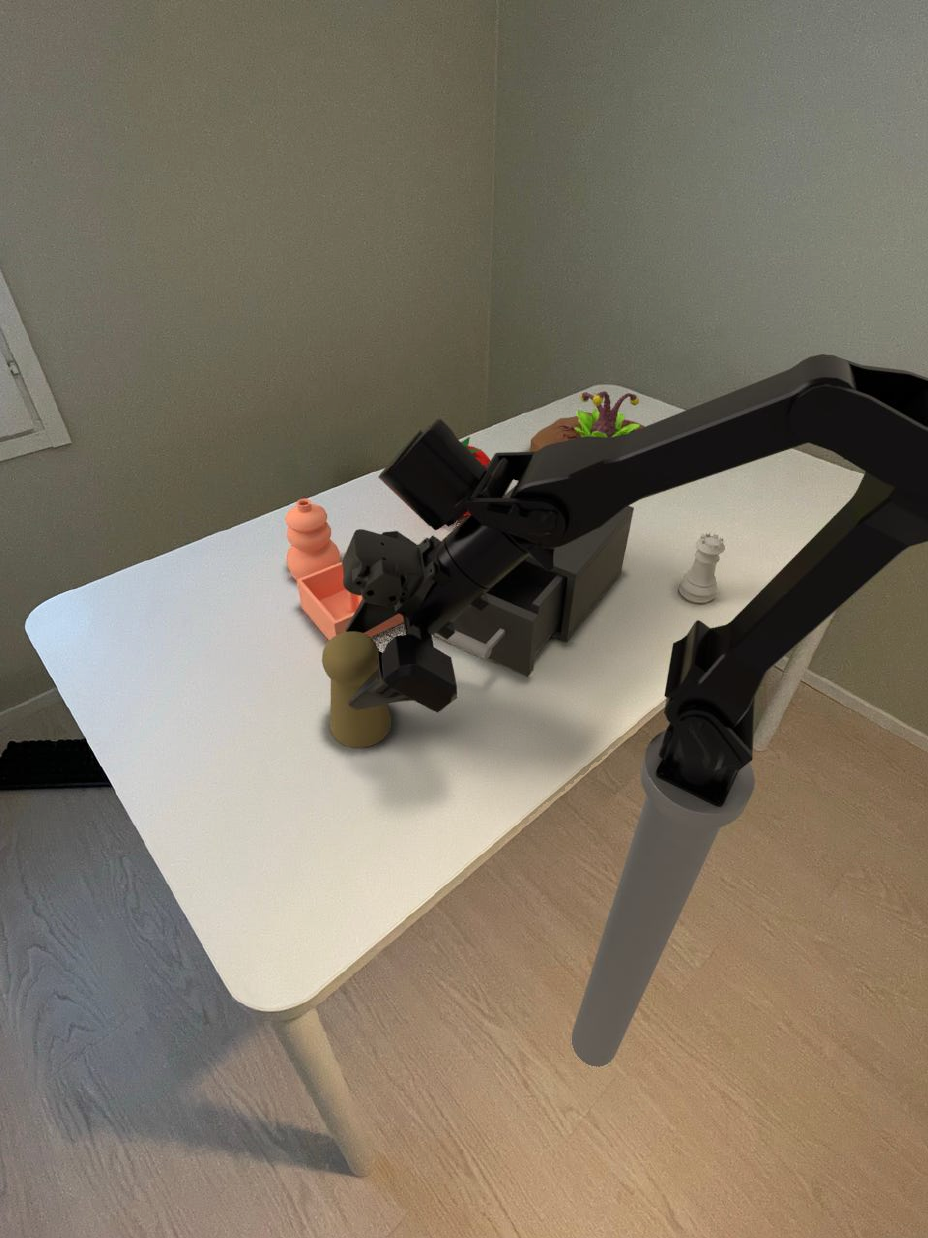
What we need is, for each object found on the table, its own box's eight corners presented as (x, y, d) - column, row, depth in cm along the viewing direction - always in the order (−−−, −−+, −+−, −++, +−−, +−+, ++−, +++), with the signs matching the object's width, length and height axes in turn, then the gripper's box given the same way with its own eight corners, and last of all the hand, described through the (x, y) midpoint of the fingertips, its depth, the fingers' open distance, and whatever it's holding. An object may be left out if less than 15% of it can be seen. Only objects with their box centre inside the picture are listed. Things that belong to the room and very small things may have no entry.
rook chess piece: (691, 576, 87) (706, 522, 82) (722, 593, 85) (740, 539, 80) (670, 592, 85) (684, 538, 80) (701, 610, 83) (718, 555, 77)
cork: (318, 736, 69) (301, 657, 61) (349, 693, 73) (336, 614, 65) (373, 756, 67) (363, 677, 60) (401, 710, 71) (395, 631, 64)
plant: (507, 454, 109) (510, 385, 102) (588, 416, 119) (596, 350, 112) (608, 507, 99) (621, 434, 91) (688, 460, 109) (705, 390, 101)
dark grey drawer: (507, 703, 71) (511, 647, 65) (406, 653, 76) (402, 598, 71) (585, 606, 82) (594, 551, 76) (493, 568, 87) (495, 514, 82)
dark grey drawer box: (566, 642, 79) (576, 574, 72) (463, 598, 84) (463, 530, 78) (621, 573, 88) (634, 507, 81) (524, 537, 93) (529, 472, 87)
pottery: (411, 618, 81) (407, 549, 75) (338, 652, 77) (327, 582, 71) (337, 543, 92) (327, 477, 86) (270, 569, 88) (254, 502, 82)
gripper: (387, 450, 61) (280, 563, 67) (407, 586, 47) (270, 713, 53) (476, 518, 67) (370, 616, 73) (517, 656, 53) (382, 762, 60)
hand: (350, 668), depth 65 cm, fingers open, 9 cm apart
